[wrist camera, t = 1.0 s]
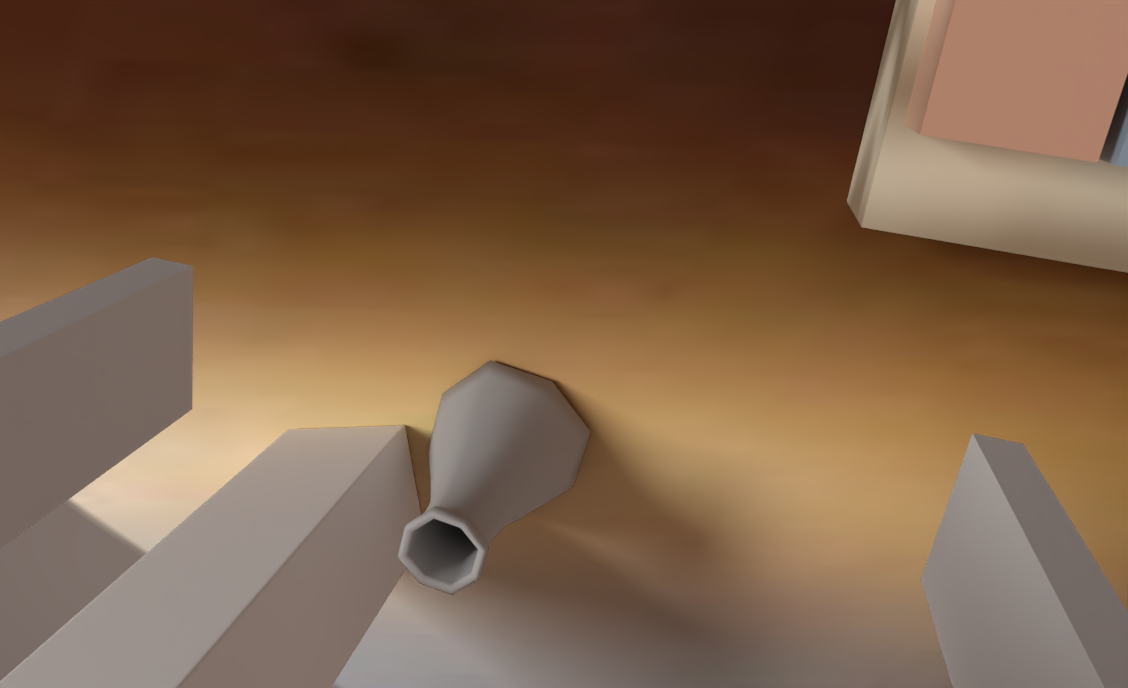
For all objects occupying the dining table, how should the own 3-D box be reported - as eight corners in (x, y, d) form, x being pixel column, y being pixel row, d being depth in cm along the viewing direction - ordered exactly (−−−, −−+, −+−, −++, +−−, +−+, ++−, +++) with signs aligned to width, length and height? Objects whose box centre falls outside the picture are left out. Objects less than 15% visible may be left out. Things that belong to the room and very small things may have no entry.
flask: (620, 426, 41) (581, 544, 32) (531, 537, 44) (472, 676, 34) (486, 330, 41) (408, 421, 31) (404, 448, 43) (310, 563, 34)
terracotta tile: (946, -41, 28) (968, -48, 26) (1118, -18, 28) (1160, -23, 25) (903, 124, 30) (919, 134, 27) (1064, 149, 29) (1097, 162, 27)
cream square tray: (930, -142, 32) (962, -172, 27) (1291, -99, 30) (1388, -122, 26) (846, 201, 36) (861, 226, 31) (1159, 253, 35) (1223, 289, 30)
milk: (406, 423, 43) (97, 783, 22) (427, 539, 45) (158, 973, 24) (285, 427, 44) (-114, 773, 24) (310, 540, 46) (-40, 954, 25)
